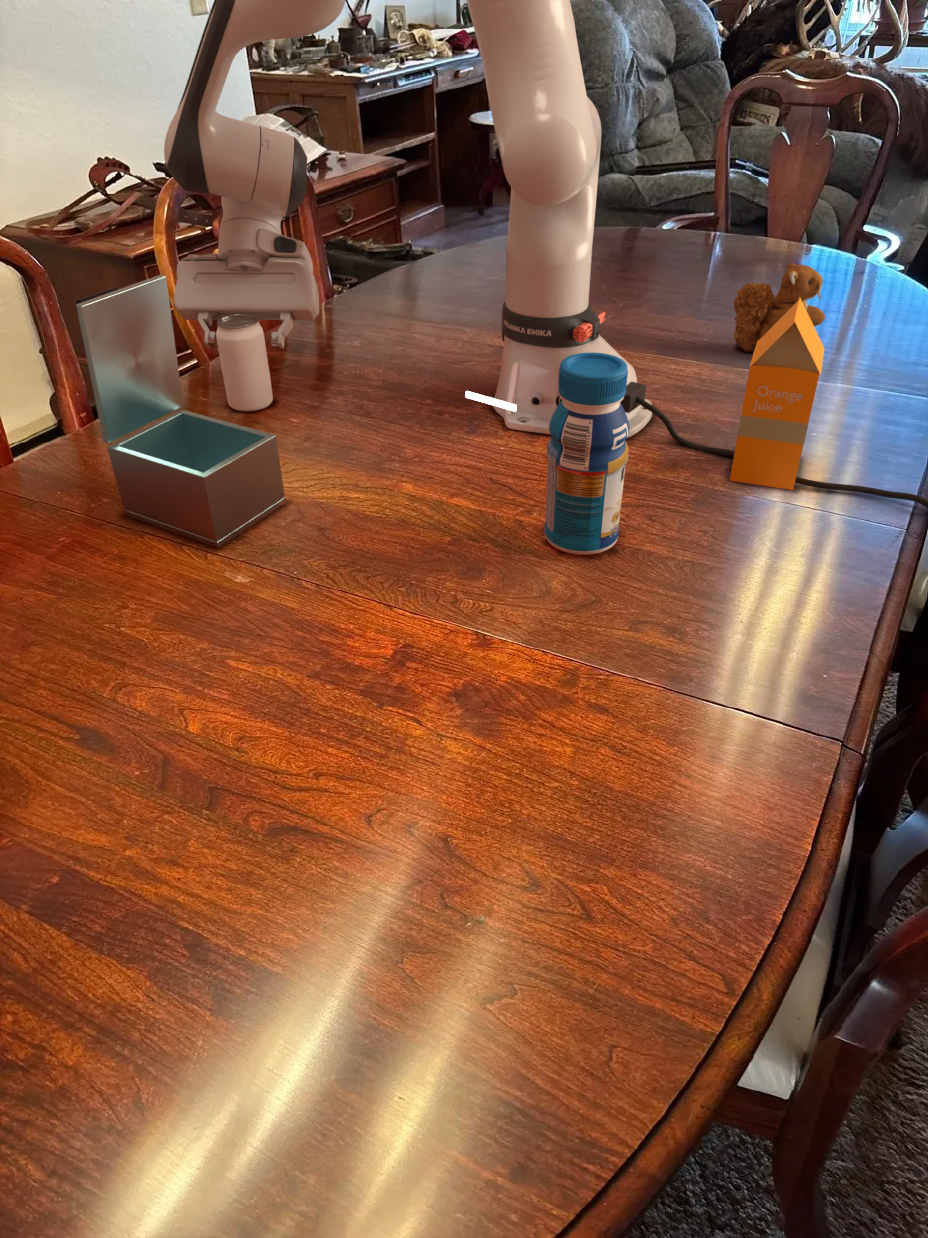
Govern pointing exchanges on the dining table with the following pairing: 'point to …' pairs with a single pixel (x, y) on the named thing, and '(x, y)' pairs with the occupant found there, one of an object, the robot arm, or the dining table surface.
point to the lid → (131, 355)
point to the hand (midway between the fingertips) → (244, 346)
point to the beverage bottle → (587, 454)
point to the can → (244, 362)
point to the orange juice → (778, 402)
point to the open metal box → (198, 476)
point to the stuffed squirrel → (774, 304)
